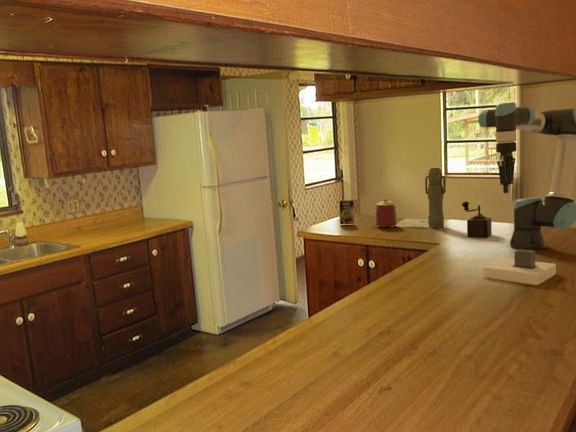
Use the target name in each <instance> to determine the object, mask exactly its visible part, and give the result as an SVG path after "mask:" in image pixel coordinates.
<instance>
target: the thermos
mask: <svg viewBox="0 0 576 432" xmlns="http://www.w3.org/2000/svg"><path fill="white" fill-rule="evenodd" d="M424 180H425V181H424V185H425V186H424V187H425V188H424V189H425V194H426V195H427V198H428V199H427V200H428V218H427V223H428V228H429V227H431V228H430V229H443V228H444V227H445V226H444V224H445V217H444V210H443V209H444V206H443V205H444V204H443V203H444V202H443V201H444V194H445V193H446V185H447V181H446V180H447V178H446V176H444V175H443V173H442V170H441V168H440V167H431V168H429V170H428V174H427V176H425V179H424ZM442 227H443V228H442Z"/></svg>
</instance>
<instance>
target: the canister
mask: <svg viewBox="0 0 576 432" xmlns="http://www.w3.org/2000/svg"><path fill="white" fill-rule="evenodd" d="M395 204H396V203H395V202H393V201H391V200H388V198H386V197H384V198H383V200H381V201H378V202H376V204H375V205H376V207H374V208H375V214H374V215H375V226H379V227H391V226H395V225H398V221H397V211H396V209H397V206H396V205H395Z"/></svg>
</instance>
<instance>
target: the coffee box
mask: <svg viewBox="0 0 576 432" xmlns="http://www.w3.org/2000/svg"><path fill="white" fill-rule="evenodd" d="M354 223H355V200H354V199H344V200H342V199H340V200H339V225H340V224H354Z"/></svg>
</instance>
